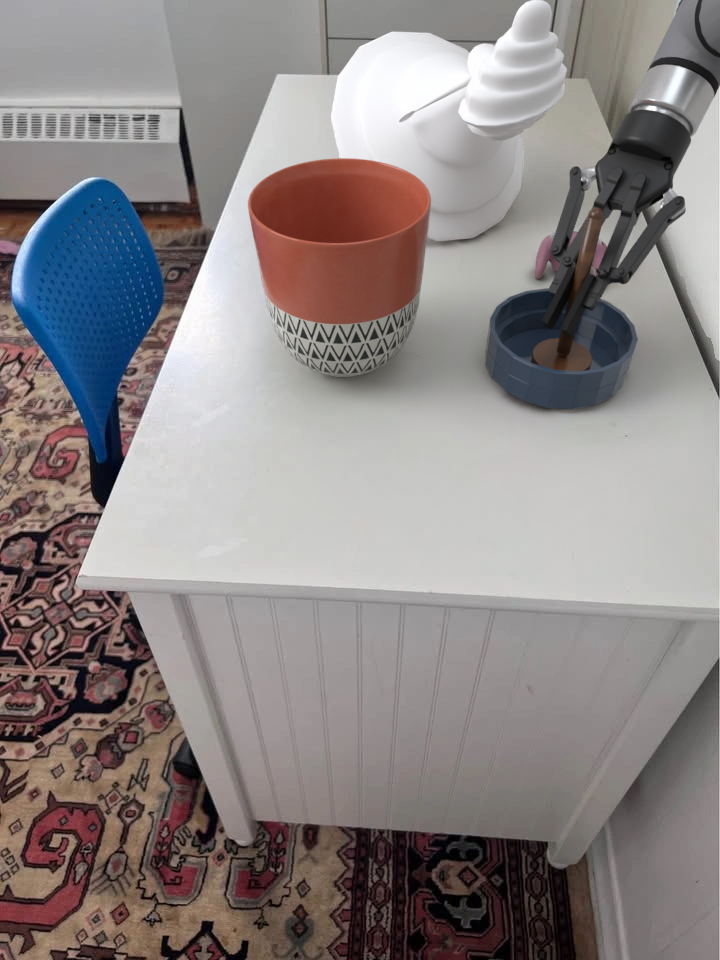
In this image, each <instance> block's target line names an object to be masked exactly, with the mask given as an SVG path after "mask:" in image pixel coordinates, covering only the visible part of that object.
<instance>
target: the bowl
mask: <svg viewBox="0 0 720 960" xmlns="http://www.w3.org/2000/svg"><path fill="white" fill-rule="evenodd" d="M549 288H550V287H547V288H537V289H530V290H525V291H522V292H519V293H517V294H513V295H512V296H509V297H508V298H506V299H504V300H503V301H502V302H501V303H499V304H497V305H496V308H495V309H494V310H493V312H492V314H491V315H490V317H489V324H488V329H487V330H488V331H487V337H486V344H485V349H484V350H485V351H484V356H485V357H484V358H485V359H484V362H485V364H484V365H485V367H486V369H487V371H488V374H489V375H490V377H491V379H492V380H493V381H494V382H495V383H496V384H497V385H499V386H500V388H502V389H503V390H504V391H505V392H506V393H508V394H510V395H512V396H513V397H516V398H517V399H519V400H522V401H523V402H526V403H528V404H531V405H534V406H537V407H538V406H539V407H542V408H548V409H555V410H575V409H576V410H577V409H582V408H588V407H593V406H596V405H599V404H601V403H603V402H605V401H607V400H609V399H610V400H611V398H613V397H614V396H615V395H616V394H617V392H619V391H620V390H621V389H622V388H623V386H624V383H625V381H626V377H627V375H628V371H629V368H630V365H631V362H632V359H633V356H634V353H635V350H636V347H637V343H638V334H637V330H636V326H635V324H634V323H633V322H632V321H631V320H630V318H629V317H628V316H627V314H626V313H625V312H624V311H622V310H621V309H619V308H618V307H616V305H614V304H612V303H611V302H609V301H607V300H605V299H602V298H601V299H600V300H599V302H598V304H597V306H596V308H595V309H594V310H593V311H591V310H588V309H585V311H584V313H583V315H582V317H581V319H580V321H579V323H578V325H577V327H576V331H575V335H574V339H573V341H575V342H577V343H579V344H581V345H583V346H584V347H585V348H586V349H587V350H588V351H589V352H590V354H591V356H592V363H591V366H590V370H585V371H566V370H555V369H551V368H547V367H543V366H539V365H536V364H533V363H531V359H532V354H533V350H534V348H535V346H536V345H537V344H539V343H540V342H542V341H545V340H548V339H555V338H560V333H561V329H560V328H561V326H562V324H563V321H564V316H565V312H566V308H567V303H568V301H567V303H566V305H565V306H564V308H563V310H562V312H561V314H560V316H559V318H558V320H557V322H556V324H555V326H554V328H553V330H551V329H549V328H546V326H545V325H544V324H543V323H542V322H541V321H542V319H543V317H544V315H545V313H546V311H547V309H548V307H549V305H550V303H551V302H552V300H553V298H554V296H552V295H551V294H550V293H549Z"/></svg>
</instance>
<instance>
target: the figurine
mask: <svg viewBox="0 0 720 960" xmlns="http://www.w3.org/2000/svg"><path fill="white" fill-rule="evenodd" d="M552 17H553V10H552V6H551V5H550V4H549V3H548V2H547V1H545V0H528V1H525V2H524V4H521V6H520V7H519V8H518V9H517V11H516V13H515V15H514V17H513V21H512V25H511V27H510V28H509V29H508V30H507V31H506V32H505V33H504V34H503V35H501V36H500V37H499V38H498V39H497V40H496V42H495V44H492V43H486V42H485V43H480V44H477V45H475V46H474V47H473V48H472V50H471V51H470V52H469V51H468V50H467V49H466V48H464V47H462V46H460V45H458V44H455V43H453V42H450V41H449V40H447V39H444V38H442V37H440V36H437V35H436V34H433V33H431V32H419V31H417V32H415V31H389V32H388V33H385V34H384V35H381V36H379V37H378V38H375V39H373V40H371V41H369V42H366V43H364V44H362V45H360V46H358V48H357V49H356V50H355V52H354V53H353V55H352V56H351V57H350V58H349V60H348V61H347V63H346V64H345V66H344V67H343V68H342V69H341V71H340V72H339V74H338V75H337V80H336V84H335V89H334V96H333V102H332V108H331V113H330V120H331V125H332V129H333V135H334V140H335V143H336V148H337V153H338V157H339V158H350V159H364V160H371V161H377V162H382V163H386V164H390V165H393V166H396V167H398V168H401V169H403V170H406V171H408V172H409V173H411V174H413V175H414V176H416V177H417V178H419V179H420V180H421V181H422V182H423V183H424V184H425V186H426V187H427V189H428V190H429V193H430V196H431V208H430V218H429V227H428V235H427V239H429V240H431V241H436V242H445V241H446V242H447V241H457V240H458V241H459V240H466V239H467V240H468V239H469V240H470V239H474V238H476V237H478V236H479V235H480V234H483V233H484V232H486V231H488V230H489V229H490V228H492V227H494V226H495V225H497V224H498V223H500V222H501V221H503V220H504V218H505V216H506V215H507V214H508V211H509V210H510V208H511V206H512V205H513V203H514V201H515V200H516V198H517V196H518V195H519V193H520V192H521V188H522V179H523V173H524V164H525V158H526V150H525V147H524V146H525V145H524V142H523V141H524V140H523V136H522V132H524V131H525V130H527V129H530V128H531V127H532V126H534V124H537V123H538V122H539V121H541V120H542V119H543V118H544V117H545V116H546V114H547V112H548V111H549V110H551V109H552V108H554V107H555V106H556V105H557V103H558V102H559V101H560V100H561V98H562V97H564V95H565V89H566V84H565V80H566V76H567V73H568V68H567V67H566V66H565V64H564V63H563V61H564V59H565V54H564V53H563V52H562V51H561V49H560V48H557V47H558V44H559V36H558V35H557V34H556V33H555V32H552V31H550V29H551V24H552V19H553V18H552Z"/></svg>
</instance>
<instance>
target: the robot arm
mask: <svg viewBox="0 0 720 960" xmlns="http://www.w3.org/2000/svg"><path fill="white" fill-rule="evenodd" d="M719 89H720V0H679V2H678V6H677V8H676V10H675V13H674V16H673V18H672V20H671V22H670V24H669V26H668V28H667V30H666V32H665V34H664V36H663V38H662V40H661V43H660V44H659V47H658V49H657V50H656V53H655V55H654V56H653V59H652V61H651V63H650V65H649V66H648V69H647V72H646V73H645V74H644V76H643V79H642V80H641V82H640V84H639V86H638V89H637V91H636V93H635V95H634V97H633V98H632V100H631V102H630V105H629V106H628V112H627V113H626V114H625V115H624V117H623V119H622V121H621V123H620V124H619V127H618V128H617V130H616V133H615V134H614V137H613V139H612V140H611V143H610V145H609V146H608V149H607V152H606V153H605V155H604V156H603V157H601V158H600V159H599V160H598V161H597V162H596V164H595V166H590V167H586V168H582V169H581V168H580V167H579V166H573V167H571V168H570V169H569V189H568V193H567V195H566V198H565V202H564V204H563V208H562V211H561V214H560V217H559V220H558V224H557V226H556V229H555V232H554V233H555V235H554V238H553V242H552V245H551V248H550V252H551V254H552V255H553V257H554V259H555V260H556V261H558V262H559V263H560V267H559V269H558V271H556V273H555V275H554V277H553V279H552V281H551V284H550V285H549V287H548V288H549V293H550V294H551V295H552V296H554V298H553V300H552V302H551V303H550V305H549V307H548V309H547V311H546V313H545V315H544V317H543V319H542V321H541V322H542V323H543V324H544V325H545V326H546V328H549V329H551V330H553V328H554V326H555V324H556V322H557V320H558V318H559V316H560V314H561V312H562V310H563V308H564V306H565V305H566V303H567V301H568V299H569V295H570V290H571V286H572V282H573V277H574V273H575V269H576V264H577V260H578V256H579V251H580V247H581V243H582V238H583V234H584V230H585V226H586V221H587V217H588V215H587V216H586V218H584V220H583V223H582V224H581V226H580V228H579V230H578V231H577V232H578V233H577V235H576V236H575V238H574V240H573V241H572V243H571V245H570V246H569V243H570V240H571V237H572V234H573V231H575V228H576V225H577V222H578V219H579V216H580V212H581V210H582V206H583V204H584V200H585V193H586V191H589V189H590V188H591V186H592V183H593V182H594V181H595V180H596V187H597V191H598V194H597V196H596V197H595V200H594V201H593V205H592V208H591V209H593V208H596V207H598V208H601V209H602V210H603V212H604V219H603V223H602V226H603V225H604V223H605V222H606V220H607V219H609V218H610V216H611V215H612V213H613V211H620V214H619V217H618V219H617V222H616V225H615V227H614V230H613V232H612V234H611V237H610V239H609V241H608V244H607V245H606V246H607V248H606V251H605V253H604V256H603V258H602V260H601V263H600V265H599V268H598V269H597V268H596V273H597V275H596V277H595V276H594V274H591V273H590V274H589V273H588V275H587V277H586V279H585V281H584V283H583V285H582V287H581V289H580V291H579V293H578V295H577V297H576V299H575V301H574V303H573V305H572V307H571V308H570V310H569V312H568V314H567V316H566V318H565V320H564V322H563V324H562V326H561V328H560V329H561V331H562V332H563V333H564V334H565V335H566V336H569V337H571V336H572V334H573V332H574V330H575V328H576V326H577V325H578V323H579V321H580V319H581V317H582V315H583V313H584V311H585V309H588V310H591V311H593V310H594V309H595V308H596V306H597V304H598V302H599V300H600V299H602V297H603V294H604V292H605V290H606V289H607V287H608V286H609V285H611V284H620V285H626V284H628V283H629V282H630V280H631V279H632V278H633V277H634V275H635V273H636V272H637V271H638V269H639V268H640V266H641V265H642V264H643V262H644V261H645V259H646V258H647V257H648V255H649V254H650V252H651V251H652V250H653V248H654V247H655V245H656V244H657V243H658V242H659V240H660V239H661V237H662V236H663V235H664V233H665V232H666V230H667V229H668V228H669V226H670V225H672V224H673V223H675V222H676V221H677V220H678V219H680V218H682V216H684V215H685V213H686V200H685V197H684V196H682V195H678V194H677V193H676V192H675V191H674V189H673V187H674V177H675V174H676V172H677V171H678V169H679V166H680V165H681V163H682V161H683V159H684V157H685V155H686V153H687V152H688V149H689V148H690V146H691V143H692V137H693V136H695V135H696V133H697V131H698V130H699V127H700V125H701V124H702V122H703V120H704V118H705V116H706V114H707V112H708V110H709V108H710V106H711V105H712V102H713V101H714V98H715V96H716V95H717V92H718V90H719ZM660 201H661V202H660ZM658 202H660V203H659V210H658V211H657V212H655V215H653V217H652V219H651V220H649V223H648V224H647V225H646V227H645V228H644V230H643V231H642V232H641V234H640V235H639V237H638V238H637V239H636V241H635V242H634V243H633V245H632V247H631V248H630V249H629V250H628V252H627V254H626V255H625V256H624V257H623V259H622V261H621V262H620V260H621V258H622V256H623V253H624V251H625V249H626V246H627V243H628V241H629V239H630V237H631V234H632V231H633V230H634V227H635V226H636V225H637V222H638V220H639V218H640V215H641V213H642V212H644V211H645V210H647V209H648V208H650V207H652V206H653V205H655V204H657V203H658ZM568 246H569V248H568ZM619 263H620V264H619Z"/></svg>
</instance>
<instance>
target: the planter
mask: <svg viewBox="0 0 720 960" xmlns="http://www.w3.org/2000/svg"><path fill="white" fill-rule="evenodd" d="M430 208H431V196H430V193H429V190H428V189H427V187H426V186H425V184H424V183H423V182H422V181H421V180H420V179H419V178H417V177H416V176H414V175H413V174H411V173H409V172H408V171H406V170H403V169H401V168H398V167H396V166H393V165H390V164H386V163H382V162H377V161H371V160H364V159H350V158H340V157H339V158H337V157H336V158H324V159H323V158H322V159H317V160H316V159H315V160H310V161H304V162H301V163H296V164H293V165H290V166H286V167H284V168H282V169H280V170H277V171H275V172H273V173H271V174H269V175H268V176H266V177H265V178H263V179H262V180H260V181H259V182H258V183H257V184H256V185H255V187H253V189H252V190H251V192H250V194H249V197H248V200H247V210H248V215H249V222H250V227H251V233H252V237H253V243H254V247H255V253H256V258H257V262H258V267H259V268H258V269H259V274H260V279H261V284H262V289H263V294H264V298H265V305H266V308H267V313H268V317H269V321H270V322H271V325H272V328H273V330H274V332H275V334H276V336H277V338H278V340H279V341H280V343H281V345H282V346H283V348H284V349H285V350H286V352H288V353H289V355H291V357H293V358H294V359H295V360H296V361H297V362H299V363H300V364H302V365H303V366H305V367H307V368H308V369H310V370H312V371H315V372H317V373H320V374H323V375H326V376H331V377H339V378H343V377H345V378H346V377H347V378H348V377H356V376H360V375H364V374H367V373H370V372H372V371H375V370H376V369H378V368H380V367H383V365H385V364H386V363H388V362H389V361H390V360H392V359H393V357H395V356H396V355H397V354H398V353H399V351H401V349H402V348H403V347H404V345H405V344H406V342H407V340H408V339H409V336H410V334H411V331H412V329H413V328H414V324H415V321H416V318H417V315H418V310H419V306H420V299H421V298H420V297H421V292H422V291H421V290H422V284H423V283H422V282H423V276H424V275H423V274H424V267H425V259H426V250H427V249H426V248H427V241H428V238H427V235H428V227H429V218H430Z"/></svg>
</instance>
